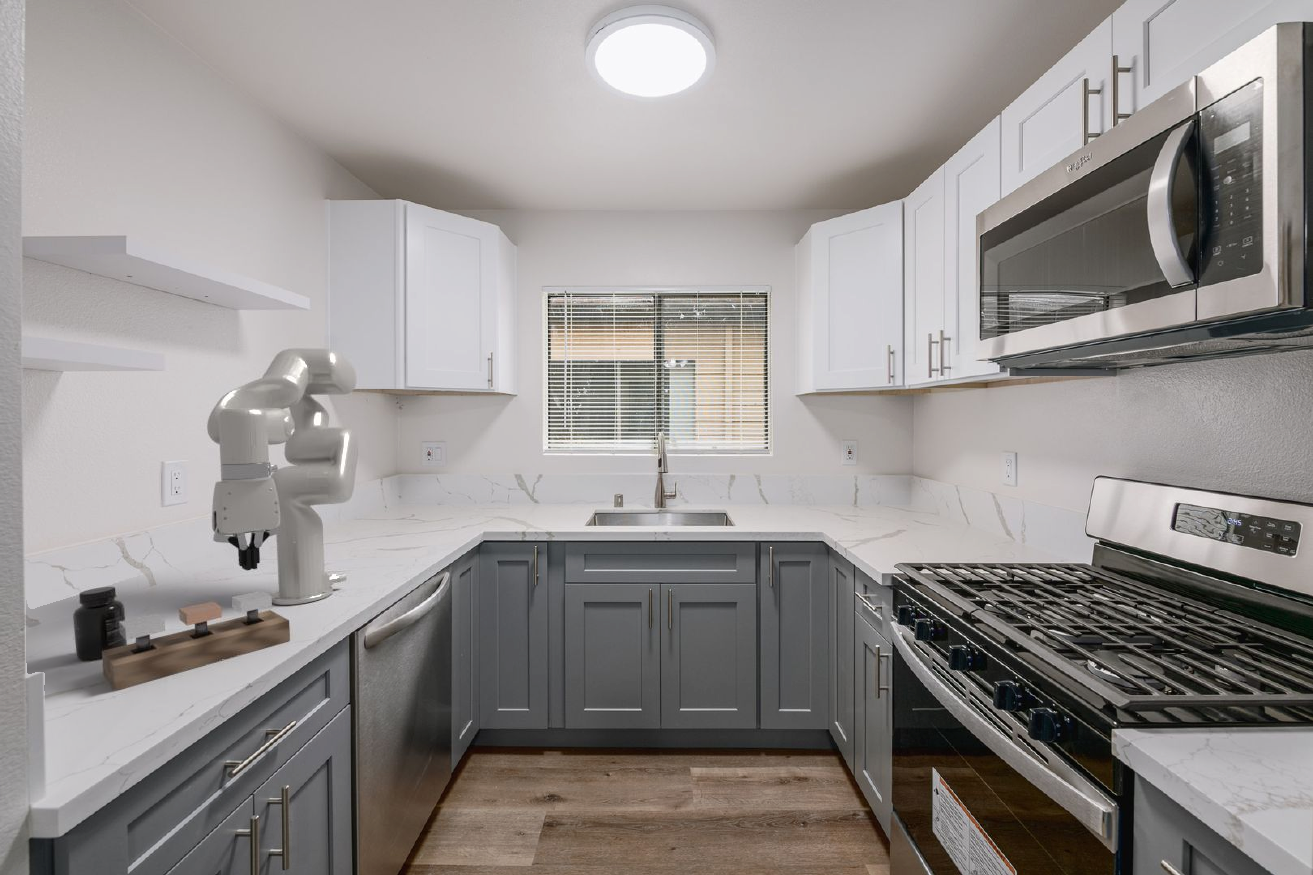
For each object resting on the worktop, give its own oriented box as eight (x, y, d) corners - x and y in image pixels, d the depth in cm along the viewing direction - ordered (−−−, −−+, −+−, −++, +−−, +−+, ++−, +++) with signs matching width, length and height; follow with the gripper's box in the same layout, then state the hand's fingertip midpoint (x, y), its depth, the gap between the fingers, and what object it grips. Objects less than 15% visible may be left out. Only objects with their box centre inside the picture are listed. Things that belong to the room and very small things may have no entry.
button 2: (263, 620, 115) (262, 590, 114) (272, 625, 112) (271, 595, 111) (233, 627, 111) (231, 597, 111) (242, 633, 108) (240, 602, 107)
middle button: (214, 632, 108) (212, 601, 108) (222, 638, 105) (221, 606, 105) (180, 641, 105) (178, 608, 104) (188, 647, 101) (186, 614, 101)
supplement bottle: (123, 643, 112) (120, 582, 111) (130, 652, 108) (126, 588, 107) (73, 655, 107) (69, 591, 106) (78, 665, 102) (74, 598, 102)
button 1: (159, 646, 102) (157, 613, 102) (166, 653, 99) (164, 619, 99) (121, 656, 98) (119, 621, 98) (127, 663, 95) (125, 628, 95)
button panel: (271, 629, 118) (270, 610, 118) (290, 640, 112) (289, 620, 112) (103, 674, 98) (101, 650, 98) (115, 690, 92) (113, 666, 92)
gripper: (282, 469, 118) (286, 558, 119) (190, 475, 106) (195, 574, 107) (297, 470, 113) (300, 563, 114) (202, 477, 102) (207, 580, 102)
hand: (249, 568), depth 110 cm, fingers closed
